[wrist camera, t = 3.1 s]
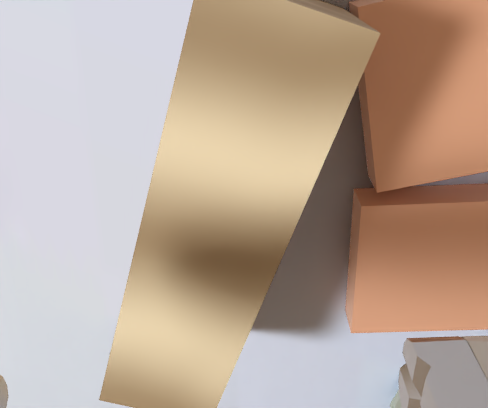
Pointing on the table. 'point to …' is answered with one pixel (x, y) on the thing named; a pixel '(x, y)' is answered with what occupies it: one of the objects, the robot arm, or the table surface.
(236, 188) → the bar
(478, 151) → the tile
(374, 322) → the tile
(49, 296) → the table surface
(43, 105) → the table surface
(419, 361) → the robot arm
